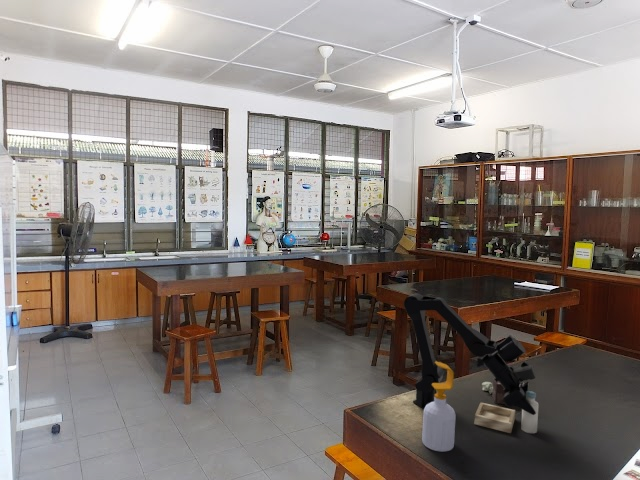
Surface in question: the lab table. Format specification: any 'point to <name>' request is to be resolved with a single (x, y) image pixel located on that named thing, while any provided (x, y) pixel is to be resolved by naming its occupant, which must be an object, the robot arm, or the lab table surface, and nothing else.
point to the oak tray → (495, 417)
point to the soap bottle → (439, 417)
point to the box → (498, 392)
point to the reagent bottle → (530, 415)
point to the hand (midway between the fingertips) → (535, 410)
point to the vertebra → (488, 386)
